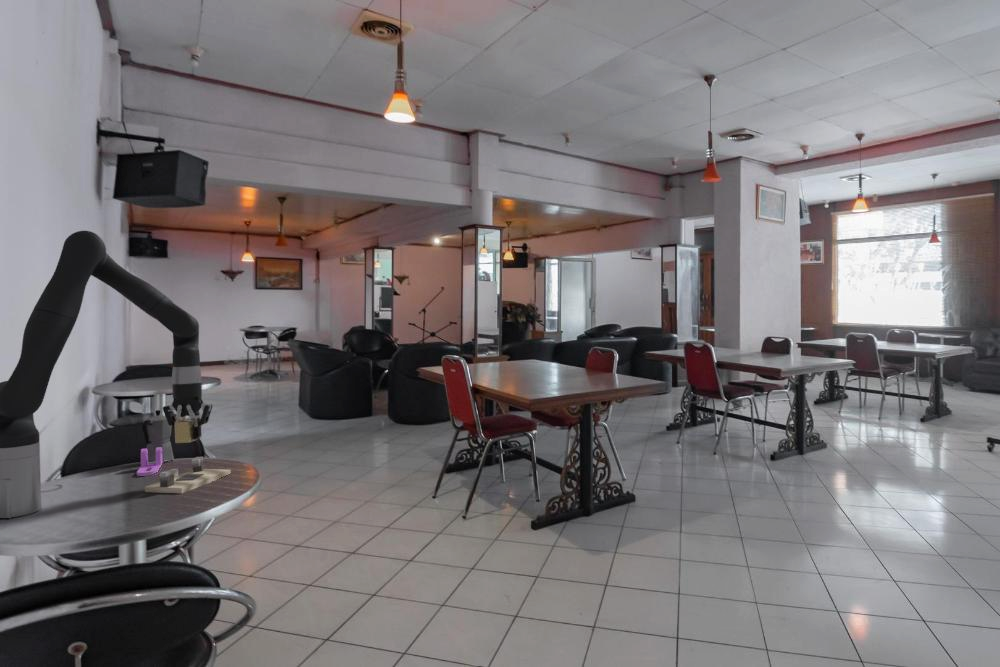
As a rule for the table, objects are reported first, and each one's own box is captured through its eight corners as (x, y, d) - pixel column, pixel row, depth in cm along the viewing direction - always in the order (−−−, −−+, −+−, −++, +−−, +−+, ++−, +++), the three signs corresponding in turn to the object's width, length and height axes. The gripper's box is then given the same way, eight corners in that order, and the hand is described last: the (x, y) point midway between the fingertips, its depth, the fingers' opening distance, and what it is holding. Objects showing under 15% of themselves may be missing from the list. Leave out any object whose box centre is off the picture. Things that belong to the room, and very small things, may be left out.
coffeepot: (155, 457, 198) (154, 407, 197) (182, 456, 198) (181, 407, 198) (129, 468, 182) (128, 414, 182) (159, 467, 183) (157, 413, 183)
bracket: (143, 468, 182) (142, 447, 182) (162, 466, 184) (162, 446, 184) (135, 478, 170) (134, 455, 170) (156, 475, 172) (155, 453, 172)
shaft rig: (181, 493, 151) (181, 473, 151) (144, 492, 154) (144, 472, 154) (230, 474, 171) (230, 456, 171) (197, 473, 173) (196, 456, 173)
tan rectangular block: (189, 442, 159) (188, 421, 159) (175, 443, 159) (174, 422, 159) (201, 437, 166) (201, 417, 166) (188, 438, 166) (187, 418, 166)
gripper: (155, 383, 158) (156, 442, 159) (204, 382, 159) (206, 441, 159) (169, 381, 166) (171, 437, 166) (217, 379, 166) (219, 436, 166)
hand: (188, 439), depth 162 cm, fingers closed on tan rectangular block, 4 cm apart
